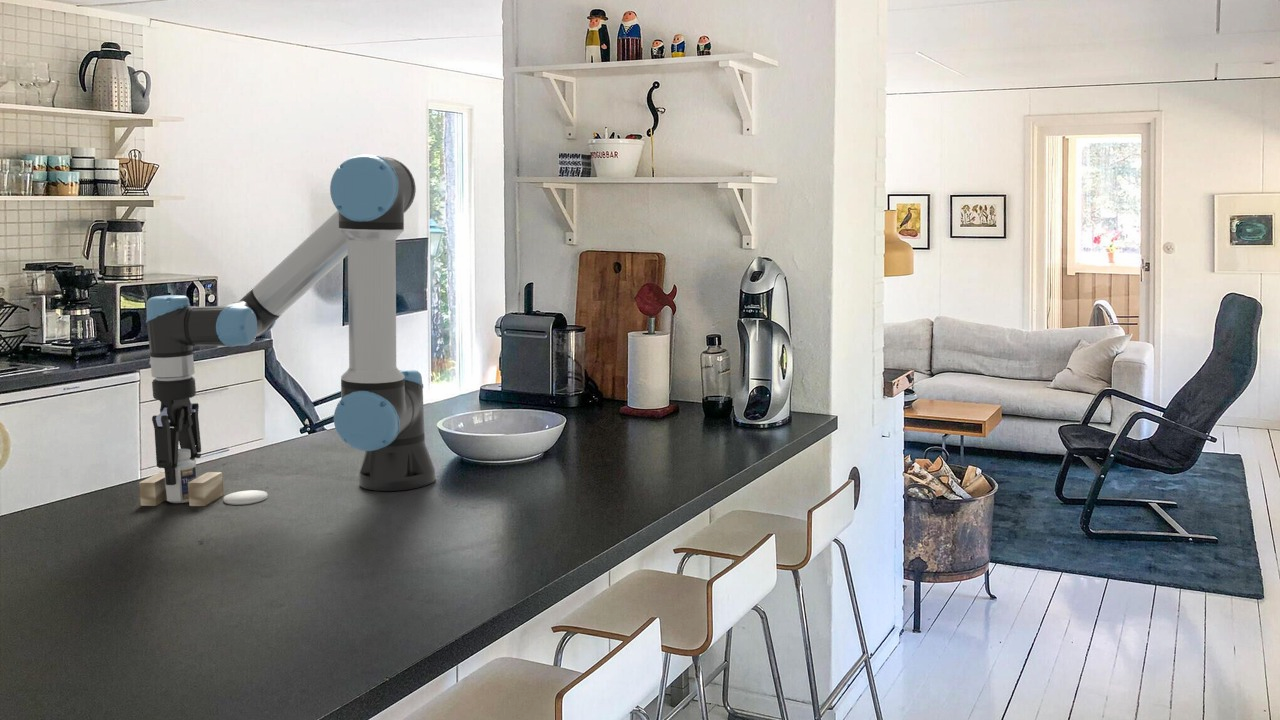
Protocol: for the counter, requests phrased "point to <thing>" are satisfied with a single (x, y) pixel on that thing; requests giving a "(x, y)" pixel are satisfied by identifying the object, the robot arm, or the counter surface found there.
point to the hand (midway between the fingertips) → (182, 495)
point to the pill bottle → (185, 472)
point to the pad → (245, 497)
